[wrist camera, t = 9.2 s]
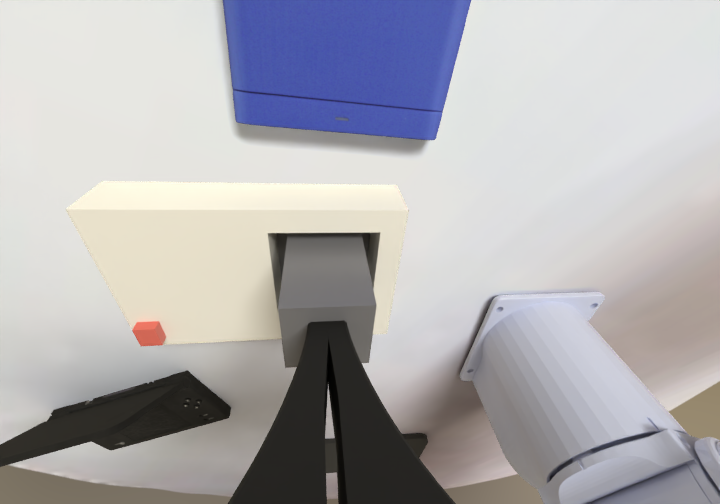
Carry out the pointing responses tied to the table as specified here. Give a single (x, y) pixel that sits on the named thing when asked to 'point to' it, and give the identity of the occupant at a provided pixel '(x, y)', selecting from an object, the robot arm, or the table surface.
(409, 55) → the hard drive
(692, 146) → the table surface
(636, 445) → the robot arm
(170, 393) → the handheld gaming console
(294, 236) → the plug
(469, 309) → the table surface
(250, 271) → the socket plate
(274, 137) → the table surface
